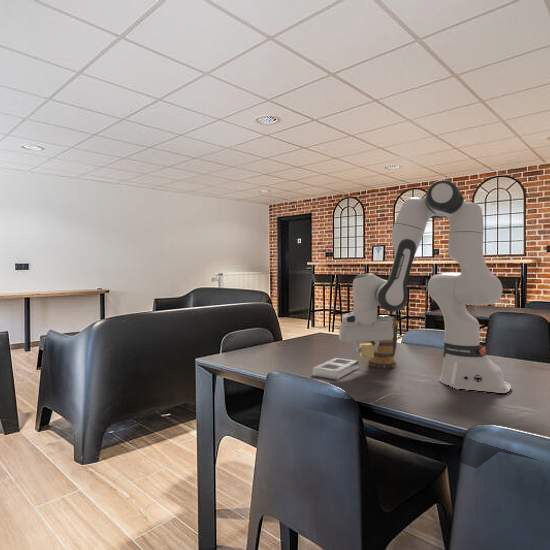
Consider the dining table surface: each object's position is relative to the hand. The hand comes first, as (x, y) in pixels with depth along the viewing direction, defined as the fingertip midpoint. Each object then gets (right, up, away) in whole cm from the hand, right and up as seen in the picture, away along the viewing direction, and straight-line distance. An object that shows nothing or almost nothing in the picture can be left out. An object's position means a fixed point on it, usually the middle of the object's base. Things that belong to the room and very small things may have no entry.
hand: (366, 352), depth 156 cm
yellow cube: (0, -2, 0) cm, 2 cm away
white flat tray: (-11, -8, +3) cm, 14 cm away
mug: (+11, -8, +15) cm, 20 cm away
